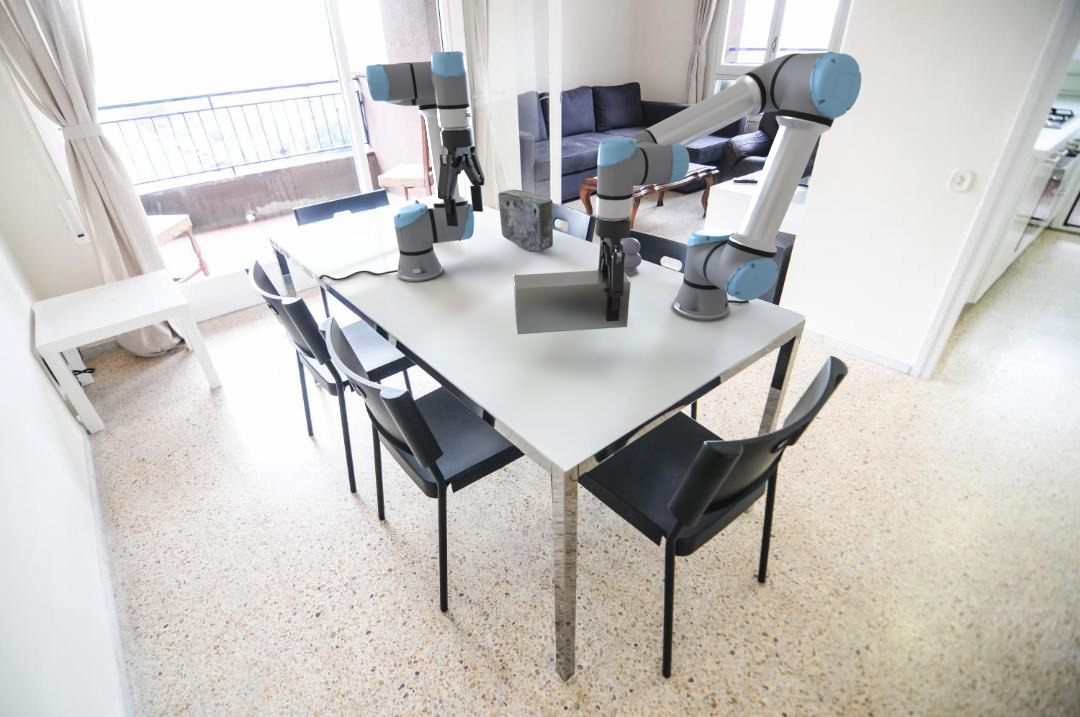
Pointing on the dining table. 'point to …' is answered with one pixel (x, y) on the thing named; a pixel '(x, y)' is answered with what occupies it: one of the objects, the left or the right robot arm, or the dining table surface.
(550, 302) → the box
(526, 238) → the concrete block
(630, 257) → the cat figurine
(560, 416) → the dining table surface
